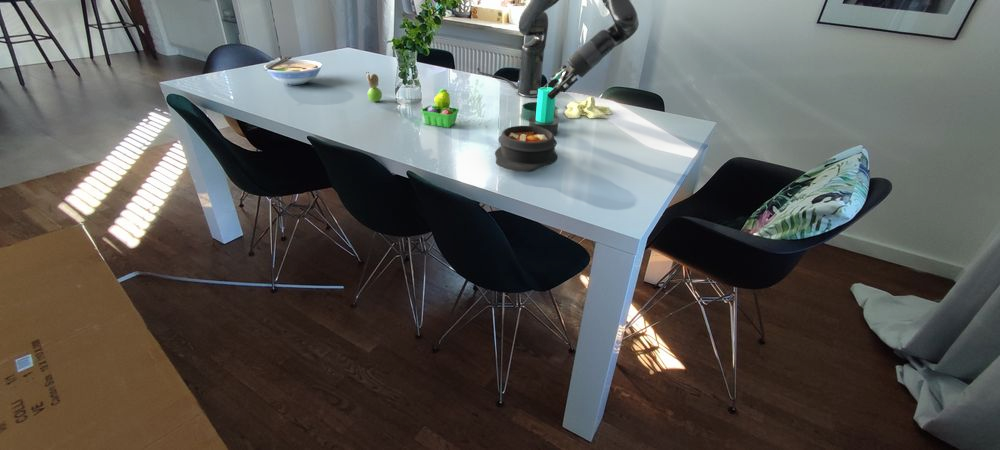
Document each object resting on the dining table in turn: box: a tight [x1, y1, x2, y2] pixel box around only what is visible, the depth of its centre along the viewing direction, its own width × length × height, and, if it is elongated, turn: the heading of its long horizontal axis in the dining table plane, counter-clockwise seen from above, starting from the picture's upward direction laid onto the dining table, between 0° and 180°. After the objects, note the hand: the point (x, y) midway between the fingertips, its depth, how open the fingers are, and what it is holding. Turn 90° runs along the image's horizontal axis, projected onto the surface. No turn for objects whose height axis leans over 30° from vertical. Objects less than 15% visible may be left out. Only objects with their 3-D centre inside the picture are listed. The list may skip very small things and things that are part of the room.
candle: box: [536, 86, 557, 123], centre depth 160 cm, size 6×6×12 cm
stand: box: [528, 116, 560, 136], centre depth 164 cm, size 11×11×4 cm
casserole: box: [494, 125, 559, 173], centre depth 139 cm, size 25×19×8 cm
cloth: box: [564, 96, 612, 119], centre depth 185 cm, size 22×19×6 cm
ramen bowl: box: [263, 56, 323, 86], centre depth 203 cm, size 25×23×8 cm
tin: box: [521, 101, 559, 122], centre depth 178 cm, size 13×13×4 cm
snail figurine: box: [365, 71, 383, 103], centre depth 183 cm, size 5×6×12 cm
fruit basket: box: [420, 88, 459, 128], centre depth 164 cm, size 11×9×11 cm
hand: (546, 93), depth 158 cm, fingers open, 8 cm apart
